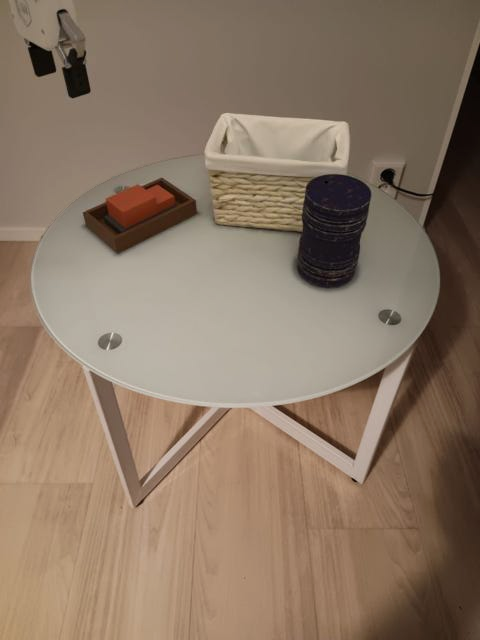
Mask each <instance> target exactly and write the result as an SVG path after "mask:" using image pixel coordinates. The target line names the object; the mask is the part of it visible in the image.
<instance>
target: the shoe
mask: <svg viewBox="0 0 480 640" xmlns="http://www.w3.org/2000/svg"><path fill="white" fill-rule="evenodd" d="M141 186H142V185H140V184H135V185H133V186H131V187H129V188H126V189H124V190H121V191H119V192H117V193H115V194H112V195H111V196H108V197H106V198H105V202H106V204H107V208H108V213H109V215H106V216H104V221H105V224H106V225H108V226H109V227H110V228H111V229H113V230H114V231H115V232H116V233H117V234H120V233H123V232H125V231H127V230H129V229H131V228H133V227H135V226H137V225H139V224H141V223H143V222H145V221H147V220H150V219H152V218H154V217H156V216H158V215H160V214H162V213H164V212H166V211H168V210H170V209H172V208H174V207H176V205H175V198H174V196H173V195H172V194H170V193H169V192H168V191H166V190H165V189H163V188H162V187H160V186H159V185H156V186H154V187H151V188H149V189H147V190H146V189H144V188H143V187H141Z"/></svg>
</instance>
